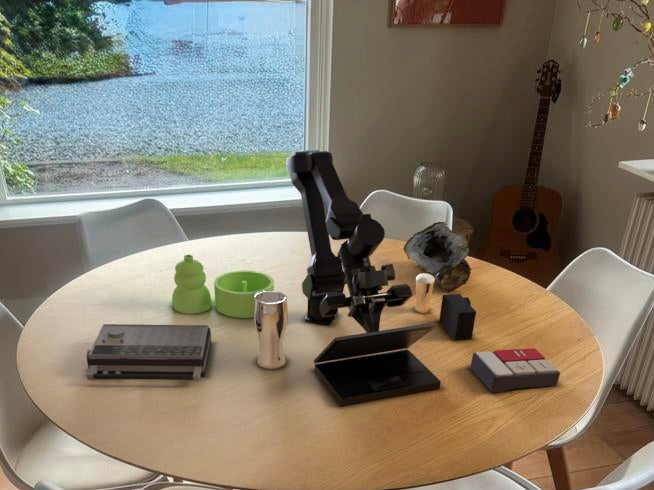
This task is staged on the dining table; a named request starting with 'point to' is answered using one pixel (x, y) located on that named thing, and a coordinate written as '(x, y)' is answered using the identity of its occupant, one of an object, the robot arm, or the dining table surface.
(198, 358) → the radio
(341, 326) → the dining table surface
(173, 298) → the green toy parts
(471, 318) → the digital camera
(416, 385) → the dark flat rectangular base
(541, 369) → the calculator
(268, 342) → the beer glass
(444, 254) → the hollow geode rock
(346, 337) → the netbook screen
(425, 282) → the shiny metal cylinder
